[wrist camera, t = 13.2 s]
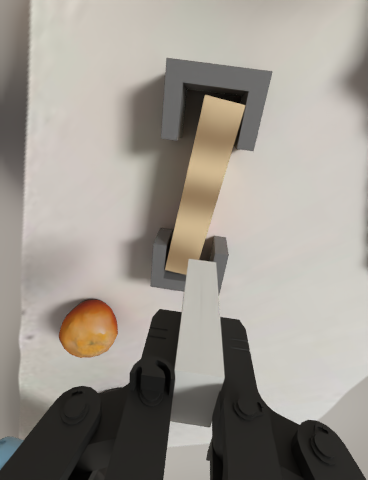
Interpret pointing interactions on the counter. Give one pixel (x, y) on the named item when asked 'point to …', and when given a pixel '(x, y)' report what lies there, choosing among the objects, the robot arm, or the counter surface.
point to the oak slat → (203, 179)
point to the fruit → (88, 329)
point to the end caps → (176, 84)
